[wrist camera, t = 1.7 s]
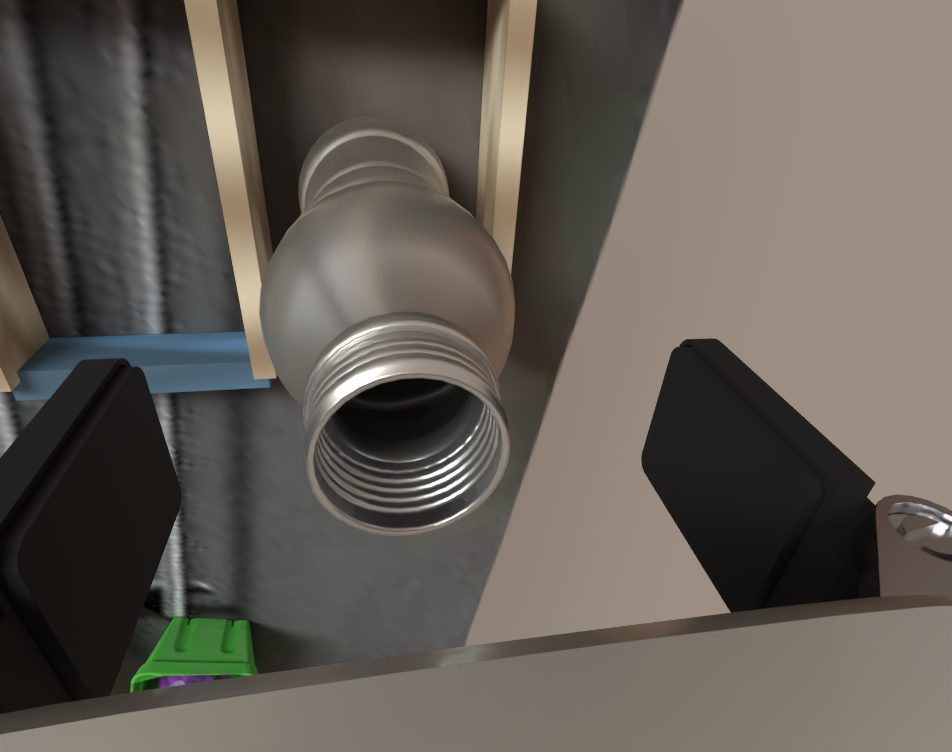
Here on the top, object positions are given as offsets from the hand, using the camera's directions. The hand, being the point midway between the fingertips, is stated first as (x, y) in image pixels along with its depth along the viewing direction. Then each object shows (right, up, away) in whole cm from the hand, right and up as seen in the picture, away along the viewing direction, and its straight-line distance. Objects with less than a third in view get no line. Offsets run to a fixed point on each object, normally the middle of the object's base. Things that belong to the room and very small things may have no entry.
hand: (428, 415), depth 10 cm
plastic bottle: (-4, +10, +16) cm, 19 cm away
